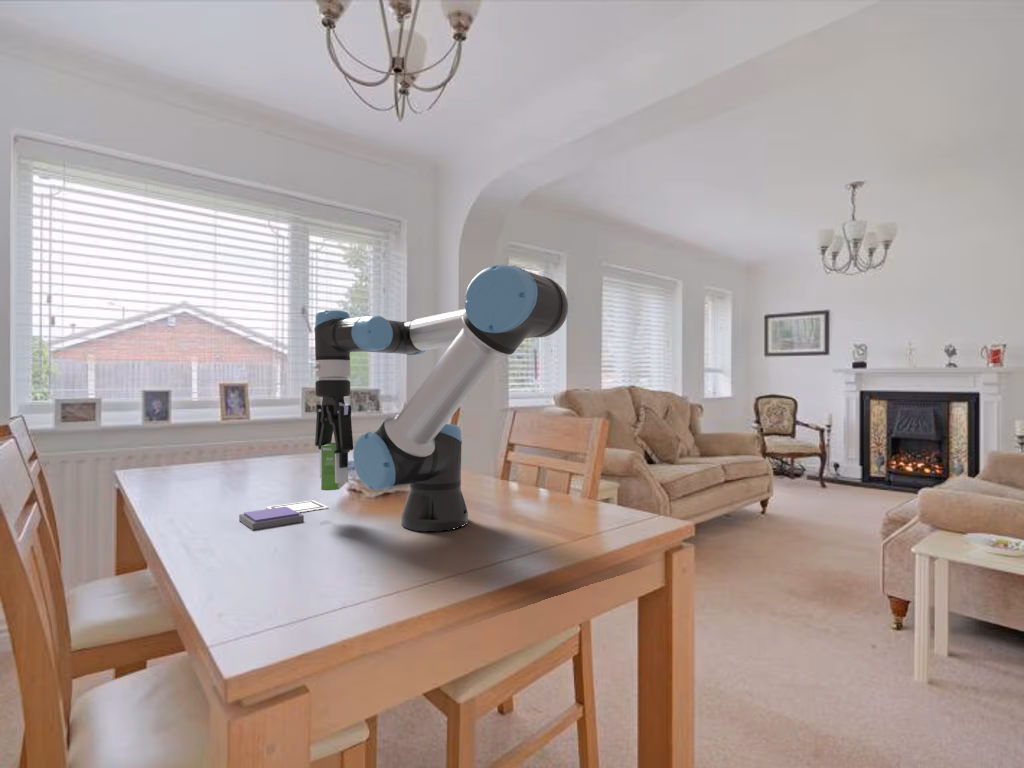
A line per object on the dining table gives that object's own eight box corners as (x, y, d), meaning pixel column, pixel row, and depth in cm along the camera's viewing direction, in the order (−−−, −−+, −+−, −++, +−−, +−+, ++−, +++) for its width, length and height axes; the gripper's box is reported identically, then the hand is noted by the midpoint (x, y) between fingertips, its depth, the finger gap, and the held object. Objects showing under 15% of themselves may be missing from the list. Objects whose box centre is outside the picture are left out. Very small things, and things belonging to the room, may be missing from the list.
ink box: (328, 484, 127) (328, 427, 127) (346, 484, 127) (345, 427, 127) (320, 490, 120) (320, 429, 120) (339, 490, 120) (338, 429, 120)
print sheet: (328, 508, 137) (328, 506, 137) (279, 516, 129) (279, 514, 129) (313, 501, 145) (313, 499, 145) (265, 508, 137) (266, 506, 137)
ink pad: (303, 521, 124) (303, 513, 124) (252, 530, 117) (252, 521, 117) (288, 513, 132) (288, 505, 132) (239, 520, 125) (239, 512, 125)
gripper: (299, 379, 128) (300, 476, 128) (336, 378, 113) (337, 488, 113) (330, 379, 133) (331, 472, 133) (369, 378, 118) (370, 483, 118)
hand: (333, 479), depth 123 cm, fingers closed on ink box, 8 cm apart
